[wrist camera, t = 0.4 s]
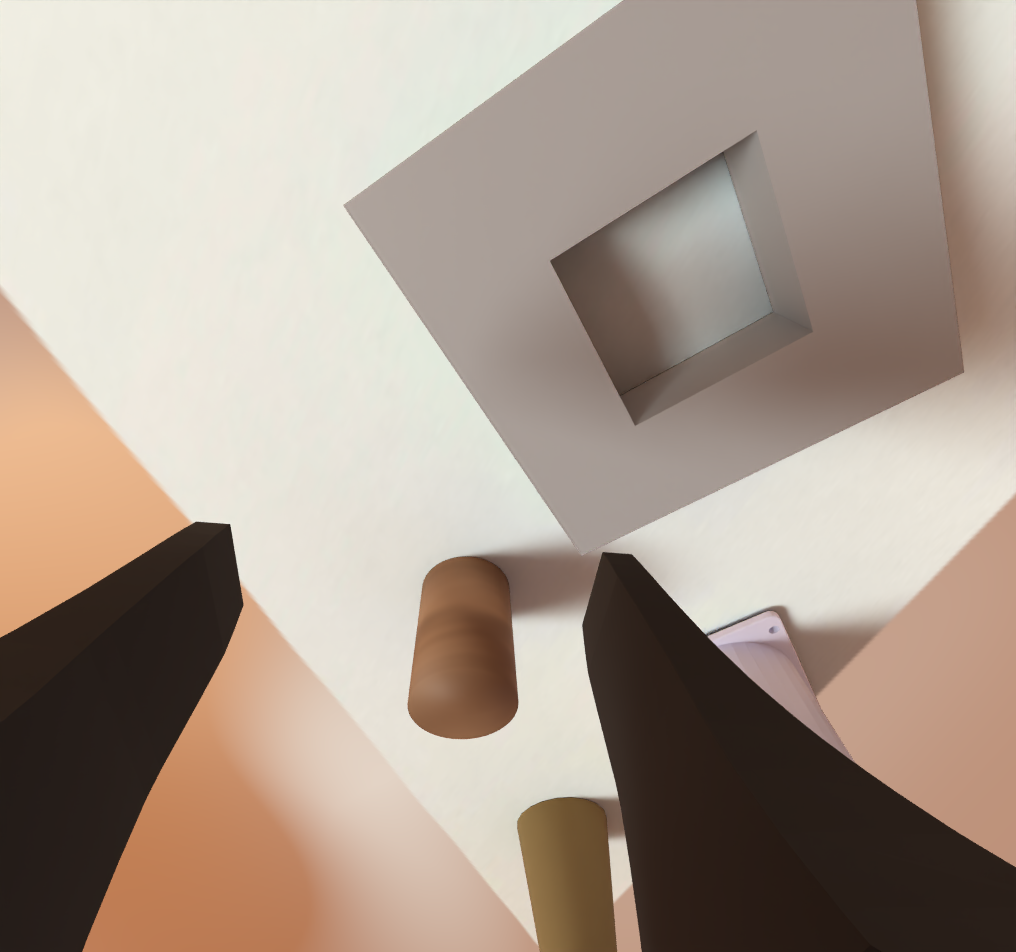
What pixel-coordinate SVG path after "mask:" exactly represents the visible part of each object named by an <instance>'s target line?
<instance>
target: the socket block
mask: <svg viewBox="0 0 1016 952" xmlns="http://www.w3.org/2000/svg"><path fill="white" fill-rule="evenodd" d="M721 152H723V153H724V157H725V160H726V163H727V166H728V169H729V172H730V176H731V179H732V182H733V185H734V188H735V191H736V195H737V198H738V201H739V204H740V207H741V210H742V214H743V217H744V220H745V223H746V226H747V229H748V233H749V236H750V239H751V242H752V245H753V249H754V252H755V255H756V258H757V261H758V264H759V268H760V271H761V274H762V277H763V280H764V283H765V287H766V290H767V293H768V296H769V299H770V302H771V306H772V309H773V313H771V314H769V315H767V316H765V317H764V318H762V319H760V320H758V321H756V322H754V323H753V324H751V325H749V326H747V327H745V328H743V329H742V330H740V331H738V332H736V333H734V334H732V335H731V336H729V337H727V338H725V339H723V340H722V341H720V342H718V343H716V344H714V345H712V346H711V347H709V348H707V349H705V350H703V351H701V352H700V353H698V354H696V355H694V356H692V357H690V358H689V359H687V360H685V361H683V362H681V363H679V364H678V365H676V366H674V367H672V368H670V369H668V370H667V371H665V372H663V373H661V374H659V375H658V376H656V377H654V378H652V379H650V380H648V381H647V382H645V383H643V384H641V385H639V386H637V387H636V388H634V389H632V390H630V391H628V392H626V393H625V394H623V395H621V396H619V394H618V392H617V390H616V388H615V386H614V384H613V382H612V380H611V378H610V376H609V375H608V373H607V371H606V369H605V367H604V365H603V363H602V361H601V359H600V357H599V355H598V353H597V351H596V349H595V347H594V345H593V344H592V342H591V340H590V338H589V336H588V334H587V332H586V330H585V328H584V326H583V324H582V322H581V320H580V318H579V316H578V314H577V313H576V311H575V309H574V307H573V305H572V303H571V301H570V299H569V297H568V295H567V293H566V291H565V289H564V287H563V285H562V283H561V282H560V280H559V278H558V276H557V274H556V272H555V270H554V268H553V266H552V264H551V262H550V260H552V259H554V258H555V257H557V256H558V255H560V254H561V253H563V252H565V251H566V250H568V249H569V248H571V247H573V246H574V245H576V244H577V243H579V242H580V241H582V240H584V239H585V238H587V237H588V236H590V235H592V234H593V233H595V232H596V231H598V230H599V229H601V228H603V227H604V226H606V225H607V224H609V223H611V222H612V221H614V220H615V219H617V218H619V217H620V216H622V215H623V214H625V213H626V212H628V211H630V210H631V209H633V208H634V207H636V206H638V205H639V204H641V203H642V202H644V201H645V200H647V199H649V198H650V197H652V196H653V195H655V194H657V193H658V192H660V191H661V190H663V189H664V188H666V187H668V186H669V185H671V184H672V183H674V182H676V181H677V180H679V179H680V178H682V177H683V176H685V175H687V174H688V173H690V172H691V171H693V170H695V169H696V168H698V167H699V166H701V165H702V164H704V163H706V162H707V161H709V160H710V159H712V158H714V157H715V156H717V155H718V154H720V153H721ZM343 206H344V207H345V209H346V210H347V212H348V213H349V215H350V216H351V218H352V219H353V220H354V222H355V223H356V225H357V226H358V228H359V229H360V231H361V232H362V234H363V235H364V237H365V238H366V240H367V241H368V243H369V244H370V245H371V247H372V248H373V250H374V251H375V253H376V254H377V256H378V257H379V259H380V260H381V262H382V263H383V265H384V266H385V268H386V269H387V270H388V272H389V273H390V275H391V276H392V278H393V279H394V281H395V282H396V284H397V285H398V287H399V288H400V290H401V291H402V293H403V294H404V296H405V297H406V298H407V300H408V301H409V303H410V304H411V306H412V307H413V309H414V310H415V312H416V313H417V315H418V316H419V318H420V319H421V321H422V322H423V323H424V325H425V326H426V328H427V329H428V331H429V332H430V334H431V335H432V337H433V338H434V340H435V341H436V343H437V344H438V346H439V347H440V348H441V350H442V351H443V353H444V354H445V356H446V357H447V359H448V360H449V362H450V363H451V365H452V366H453V368H454V369H455V371H456V372H457V373H458V375H459V376H460V378H461V379H462V381H463V382H464V384H465V385H466V387H467V388H468V390H469V391H470V393H471V394H472V396H473V397H474V399H475V400H476V401H477V403H478V404H479V406H480V407H481V409H482V410H483V412H484V413H485V415H486V416H487V418H488V419H489V421H490V422H491V424H492V425H493V426H494V428H495V429H496V431H497V432H498V434H499V435H500V437H501V438H502V440H503V441H504V443H505V444H506V446H507V447H508V449H509V450H510V451H511V453H512V454H513V456H514V457H515V459H516V460H517V462H518V463H519V465H520V466H521V468H522V469H523V471H524V472H525V474H526V475H527V476H528V478H529V479H530V481H531V482H532V484H533V485H534V487H535V488H536V490H537V491H538V493H539V494H540V496H541V497H542V499H543V500H544V502H545V503H546V504H547V506H548V507H549V509H550V510H551V512H552V513H553V515H554V516H555V518H556V519H557V521H558V522H559V524H560V525H561V527H562V528H563V529H564V531H565V532H566V534H567V535H568V537H569V538H570V540H571V541H572V543H573V544H574V546H575V547H576V549H577V550H578V552H579V553H580V554H581V556H583V555H585V554H587V553H589V552H591V551H593V550H595V549H597V548H599V547H601V546H603V545H605V544H608V543H610V542H612V541H614V540H616V539H618V538H620V537H622V536H624V535H626V534H628V533H630V532H633V531H635V530H637V529H639V528H641V527H643V526H645V525H647V524H649V523H651V522H653V521H655V520H657V519H660V518H662V517H664V516H666V515H668V514H670V513H672V512H674V511H676V510H678V509H680V508H682V507H685V506H687V505H689V504H691V503H693V502H695V501H697V500H699V499H701V498H703V497H705V496H707V495H710V494H712V493H714V492H716V491H718V490H720V489H722V488H724V487H726V486H728V485H730V484H732V483H735V482H737V481H739V480H741V479H743V478H745V477H747V476H749V475H751V474H753V473H755V472H757V471H759V470H762V469H764V468H766V467H768V466H770V465H772V464H774V463H776V462H778V461H780V460H782V459H784V458H787V457H789V456H791V455H793V454H795V453H797V452H799V451H801V450H803V449H805V448H807V447H809V446H812V445H814V444H816V443H818V442H820V441H822V440H824V439H826V438H828V437H830V436H832V435H834V434H837V433H839V432H841V431H843V430H845V429H847V428H849V427H851V426H853V425H855V424H857V423H859V422H861V421H864V420H866V419H868V418H870V417H872V416H874V415H876V414H878V413H880V412H882V411H884V410H886V409H889V408H891V407H893V406H895V405H897V404H899V403H901V402H903V401H905V400H907V399H909V398H911V397H914V396H916V395H918V394H920V393H922V392H924V391H926V390H928V389H930V388H932V387H934V386H936V385H939V384H941V383H943V382H945V381H947V380H949V379H951V378H953V377H955V376H957V375H959V374H961V373H963V372H964V367H963V360H962V352H961V344H960V336H959V329H958V321H957V313H956V305H955V298H954V290H953V282H952V274H951V267H950V259H949V251H948V243H947V235H946V228H945V220H944V212H943V204H942V197H941V189H940V181H939V173H938V166H937V158H936V150H935V142H934V135H933V127H932V119H931V111H930V104H929V96H928V88H927V80H926V73H925V65H924V57H923V49H922V42H921V34H920V26H919V18H918V11H917V3H916V0H623V1H622V2H620V3H619V4H618V5H616V6H615V7H614V8H612V9H611V10H609V11H608V12H607V13H605V14H604V15H603V16H601V17H600V18H598V19H597V20H596V21H594V22H593V23H592V24H590V25H589V26H588V27H586V28H585V29H583V30H582V31H581V32H579V33H578V34H577V35H575V36H574V37H573V38H571V39H570V40H568V41H567V42H566V43H564V44H563V45H562V46H560V47H559V48H558V49H556V50H555V51H553V52H552V53H551V54H549V55H548V56H547V57H545V58H544V59H542V60H541V61H540V62H538V63H537V64H536V65H534V66H533V67H532V68H530V69H529V70H527V71H526V72H525V73H523V74H522V75H521V76H519V77H518V78H517V79H515V80H514V81H512V82H511V83H510V84H508V85H507V86H506V87H504V88H503V89H501V90H500V91H499V92H497V93H496V94H495V95H493V96H492V97H491V98H489V99H488V100H486V101H485V102H484V103H482V104H481V105H480V106H478V107H477V108H476V109H474V110H473V111H471V112H470V113H469V114H467V115H466V116H465V117H463V118H462V119H461V120H459V121H458V122H456V123H455V124H454V125H452V126H451V127H450V128H448V129H447V130H445V131H444V132H443V133H441V134H440V135H439V136H437V137H436V138H435V139H433V140H432V141H430V142H429V143H428V144H426V145H425V146H424V147H422V148H421V149H420V150H418V151H417V152H415V153H414V154H413V155H411V156H410V157H409V158H407V159H406V160H405V161H403V162H402V163H400V164H399V165H398V166H396V167H395V168H394V169H392V170H391V171H389V172H388V173H387V174H385V175H384V176H383V177H381V178H380V179H379V180H377V181H376V182H374V183H373V184H372V185H370V186H369V187H368V188H366V189H365V190H364V191H362V192H361V193H359V194H358V195H357V196H355V197H354V198H353V199H351V200H350V201H349V202H347V203H346V204H344V205H343Z"/></svg>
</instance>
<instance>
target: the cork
mask: <svg viewBox="0 0 1016 952" xmlns="http://www.w3.org/2000/svg"><path fill="white" fill-rule="evenodd" d="M517 829H518V834H519V840H520V845H521V851H522V856H523V862H524V867H525V873H526V878H527V884H528V889H529V895H530V900H531V906H532V911H533V917H534V922H535V928H536V933H537V939H538V944H539V950H540V952H617V945H616V933H615V920H614V907H613V894H612V882H611V869H610V856H609V844H608V831H607V819H606V814H605V812H604V810H603V808H601V807H600V806H599V805H598V804H596V803H594V802H591V801H589V800H586V799H580V798H572V797H570V798H556V799H551V800H547V801H543V802H540V803H538V804H536V805H534V806H531V807H530V808H528V809H527V810H526V811H525V812H523V813H522V814H521V816H520V818H519V819H518V821H517Z"/></svg>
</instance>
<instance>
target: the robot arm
mask: <svg viewBox="0 0 1016 952" xmlns="http://www.w3.org/2000/svg"><path fill="white" fill-rule="evenodd" d="M242 608H243V599H242V593H241V587H240V581H239V575H238V569H237V563H236V557H235V551H234V545H233V539H232V533H231V527H230V524H220V523H206V522H195V523H193V524H191V525H190V526H188V527H186V528H184V529H183V530H181V531H179V532H178V533H176V534H174V535H173V536H171V537H170V538H168V539H166V540H165V541H163V542H161V543H160V544H158V545H157V546H155V547H153V548H152V549H150V550H149V551H147V552H145V553H144V554H142V555H141V556H139V557H137V558H136V559H134V560H133V561H131V562H129V563H128V564H126V565H125V566H123V567H121V568H120V569H118V570H116V571H115V572H113V573H112V574H110V575H108V576H107V577H105V578H104V579H102V580H100V581H99V582H97V583H95V584H94V585H92V586H91V587H89V588H87V589H86V590H84V591H82V592H81V593H79V594H77V595H75V596H74V597H72V598H70V599H68V600H66V601H65V602H63V603H61V604H59V605H58V606H56V607H54V608H52V609H51V610H49V611H47V612H45V613H44V614H42V615H40V616H38V617H37V618H35V619H33V620H31V621H30V622H28V623H26V624H24V625H23V626H21V627H19V628H18V629H16V630H14V631H12V632H10V633H8V634H7V635H4V636H3V637H1V638H0V952H82V951H83V948H84V945H85V942H86V940H87V937H88V935H89V933H90V930H91V927H92V925H93V923H94V920H95V918H96V916H97V913H98V911H99V908H100V906H101V903H102V901H103V899H104V896H105V893H106V891H107V889H108V886H109V884H110V882H111V879H112V877H113V874H114V872H115V869H116V867H117V865H118V862H119V860H120V858H121V855H122V853H123V851H124V848H125V846H126V844H127V842H128V839H129V837H130V835H131V832H132V830H133V828H134V826H135V823H136V821H137V819H138V816H139V814H140V812H141V810H142V807H143V805H144V803H145V800H146V798H147V796H148V794H149V792H150V790H151V788H152V786H153V784H154V783H155V781H156V779H157V776H158V775H159V773H160V771H161V769H162V767H163V765H164V763H165V762H166V760H167V758H168V756H169V754H170V752H171V751H172V749H173V747H174V745H175V743H176V741H177V740H178V738H179V736H180V734H181V733H182V731H183V729H184V727H185V725H186V724H187V722H188V720H189V718H190V716H191V715H192V713H193V711H194V709H195V707H196V706H197V704H198V702H199V700H200V698H201V696H202V695H203V693H204V691H205V689H206V687H207V685H208V684H209V682H210V680H211V678H212V676H213V674H214V673H215V670H216V669H217V667H218V665H219V663H220V661H221V659H222V658H223V656H224V654H225V651H226V649H227V646H228V644H229V641H230V639H231V637H232V634H233V632H234V629H235V626H236V624H237V621H238V618H239V616H240V613H241V610H242ZM582 627H583V636H584V645H585V654H586V661H587V668H588V674H589V678H590V683H591V687H592V691H593V695H594V699H595V703H596V707H597V711H598V715H599V719H600V723H601V727H602V731H603V735H604V739H605V743H606V747H607V751H608V754H609V758H610V762H611V766H612V770H613V774H614V778H615V782H616V787H617V791H618V796H619V801H620V806H621V811H622V817H623V823H624V830H625V836H626V842H627V849H628V855H629V861H630V868H631V875H632V882H633V889H634V896H635V903H636V910H637V918H638V925H639V932H640V941H641V949H642V952H1016V867H1014V866H1013V865H1011V864H1009V863H1007V862H1006V861H1004V860H1003V859H1001V858H999V857H997V856H996V855H994V854H993V853H991V852H989V851H988V850H986V849H984V848H983V847H981V846H979V845H977V844H976V843H974V842H972V841H971V840H969V839H968V838H966V837H964V836H963V835H961V834H959V833H958V832H956V831H955V830H953V829H951V828H950V827H948V826H947V825H945V824H944V823H942V822H941V821H939V820H938V819H936V818H935V817H933V816H932V815H930V814H929V813H927V812H925V811H924V810H923V809H921V808H919V807H918V806H916V805H915V804H913V803H912V802H910V801H909V800H907V799H906V798H904V797H903V796H901V795H900V794H898V793H897V792H895V791H894V790H893V789H891V788H890V787H888V786H887V785H885V784H884V783H882V782H881V781H880V780H878V779H877V778H875V777H874V776H872V775H871V774H870V773H868V772H867V771H865V770H864V769H863V768H861V767H860V766H858V765H857V764H856V763H855V762H854V760H853V758H852V757H851V755H850V754H849V752H848V750H847V749H846V747H845V746H844V744H843V743H842V741H841V739H840V738H839V736H838V735H837V733H836V732H835V730H834V728H833V727H832V725H831V724H830V723H829V721H828V719H827V717H826V716H825V714H824V713H823V711H822V710H821V708H820V705H819V703H818V701H817V698H816V696H815V694H814V692H813V689H812V687H811V685H810V683H809V680H808V678H807V676H806V674H805V672H804V669H803V667H802V665H801V663H800V660H799V658H798V656H797V654H796V651H795V649H794V647H793V645H792V643H791V640H790V638H789V636H788V634H787V631H786V629H785V627H784V625H783V622H782V620H781V618H780V617H779V615H778V614H777V613H776V612H774V611H767V612H764V613H762V614H759V615H757V616H755V617H752V618H750V619H747V620H745V621H743V622H740V623H738V624H735V625H733V626H731V627H728V628H726V629H723V630H721V631H719V632H716V633H714V634H711V635H709V636H706V635H705V634H704V633H703V632H702V631H701V630H700V628H699V627H698V626H697V625H696V624H695V623H694V622H693V621H692V620H691V619H690V618H689V617H688V616H687V615H686V614H685V613H684V611H683V610H682V609H681V608H680V607H679V606H678V605H677V604H676V603H675V602H674V601H673V599H672V598H671V597H670V596H669V595H668V594H667V593H666V592H665V591H664V589H663V588H662V587H661V586H660V585H659V584H658V583H657V582H656V580H655V579H654V578H653V577H652V576H651V575H650V574H649V573H648V571H647V570H646V569H645V568H644V567H643V566H642V565H641V564H640V563H639V562H638V560H637V559H636V558H635V557H634V556H633V555H632V554H619V553H606V552H603V553H602V556H601V560H600V563H599V567H598V571H597V574H596V578H595V581H594V585H593V589H592V592H591V596H590V599H589V603H588V606H587V610H586V614H585V617H584V621H583V624H582Z"/></svg>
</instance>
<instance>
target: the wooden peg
mask: <svg viewBox="0 0 1016 952" xmlns="http://www.w3.org/2000/svg"><path fill="white" fill-rule="evenodd" d="M517 709H518V692H517V680H516V667H515V655H514V642H513V630H512V617H511V605H510V592H509V583H508V580H507V578H506V576H505V574H504V573H503V572H502V570H501V569H500V568H498V567H497V566H496V565H494V564H493V563H491V562H489V561H487V560H484V559H481V558H476V557H456V558H451V559H448V560H445V561H443V562H441V563H439V564H438V565H436V566H435V567H433V568H432V569H431V570H430V571H429V573H428V574H427V575H426V577H425V579H424V582H423V586H422V594H421V602H420V610H419V618H418V626H417V634H416V642H415V650H414V658H413V665H412V673H411V681H410V689H409V697H408V711H409V714H410V716H411V718H412V719H413V721H414V722H415V723H416V724H417V725H418V726H419V727H421V728H422V729H424V730H425V731H427V732H429V733H432V734H434V735H437V736H440V737H445V738H451V739H471V738H478V737H482V736H486V735H489V734H492V733H494V732H496V731H498V730H500V729H501V728H503V727H504V726H506V725H507V724H508V723H509V722H510V721H511V720H512V719H513V717H514V716H515V714H516V712H517Z"/></svg>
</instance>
